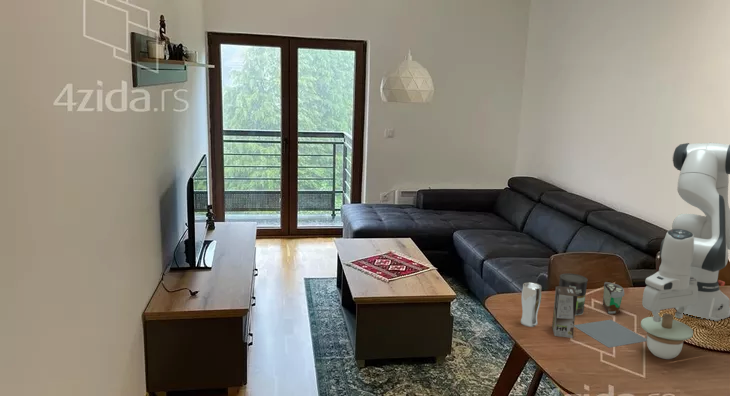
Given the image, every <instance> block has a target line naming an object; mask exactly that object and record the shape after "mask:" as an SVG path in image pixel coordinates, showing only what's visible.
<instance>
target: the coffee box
mask: <svg viewBox="0 0 730 396" xmlns="http://www.w3.org/2000/svg"><path fill="white" fill-rule="evenodd" d="M554 292H555V293H554V302H553V313H552V314H553V316H552V324H551V325H552V332H553V335H554V336H555V337H560V338H568V339H569V338H570V339H573V338H574V337H573V336H574V329H575V327H574V325H575V320H576V315H575V313H576V304H577V297H578V296H577V294H576V292H575V290H574V288H573V287H560V286H559V285H558V286H555V291H554Z"/></svg>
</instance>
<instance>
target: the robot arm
mask: <svg viewBox="0 0 730 396" xmlns="http://www.w3.org/2000/svg"><path fill="white" fill-rule="evenodd" d="M672 164H673V166H674V168H675V169H676V170H677V171H680V173H679V174H678V175H679V176H678V181H677V189H676V190H677V193H678V195H679V196H680V198H681V199H682V200H683V201H684V202H685V203H687V204H688V205H690V206H693V207H695V208H697V209H699V210H700V211H701V212H702V213H703V214H704V215H701V214H695V213H681V214H678V215H677V216H676V217H675V218H674V220H673V221H672V223H671V229H669V230H668V231H667V232H666V234H665V237H664V238H662V241H661V243H660V249H659V256H660V258H661V263H660V265H659V269H658V271H656V272H655V273H653V274H651V275H650V276H647V277H646V278H645V281H644V282H645V285H646V286H645V287H644V289H643V293H642V301H641V303H642V306H643V308H644V309H646V310H647V311H650V312H651V313H652V317H653V321H655V322H660V321H661V317H662V316H661V315H660V313H661V310H662V311H663V310H669V309H675V310H676V311H675V312H674V317H675V318H676V319H683V316H684V315H686V314H688V315H687V316H689V315H693V316H697V317H701V318H700V319H703V318H706V319H705V320H709V319H710V320H709V321H713V320H714V322H719V321H721V319H722V320H724V319H727V318H729V317H730V298H729V297H728V295H726V294H725V293H724V292H722V290H721V289H720V286H721V287H725V285H726V281H723V280H721V279H718V278H719V273H720V271H721V270H722V269H724V268H726V266H727V264H728V261H729V250H730V205H729V181H730V180H729V175H730V144H727V143H720V142H719V143H718V142H704V143H703V142H698V143H689V142H687V143H681V144H679V145H677V146H676V147H675V149H674V150H673V153H672ZM683 313H684V314H683Z"/></svg>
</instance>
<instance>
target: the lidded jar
mask: <svg viewBox="0 0 730 396" xmlns="http://www.w3.org/2000/svg"><path fill="white" fill-rule="evenodd" d="M646 339H647V341H646V346H647V348H648V351H650V352H651V354H652V355H653V356H655V357H657V358H659V359H664V360H672V359H674V358H677V356H679V355H680V353H681V352H682V349H683V345H684V342H685V340H670V339H665V338H661V337H657V336H655V335H652V334H650V333H648V332H646Z"/></svg>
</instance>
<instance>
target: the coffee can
mask: <svg viewBox="0 0 730 396" xmlns="http://www.w3.org/2000/svg"><path fill="white" fill-rule="evenodd" d="M588 280H589V279H588V278H587V277H586V276H584V275H581V274H577V273H561V274H559V282H558V283H559V284H558V286H560V287H573V288H574V290H575V292H576V294H577V296H578V297H577V304H576V313H575V316H581V315H583V314H584V312H585V311H584V310H585V303H586V302H585V301H586V294H587V285H588Z"/></svg>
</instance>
